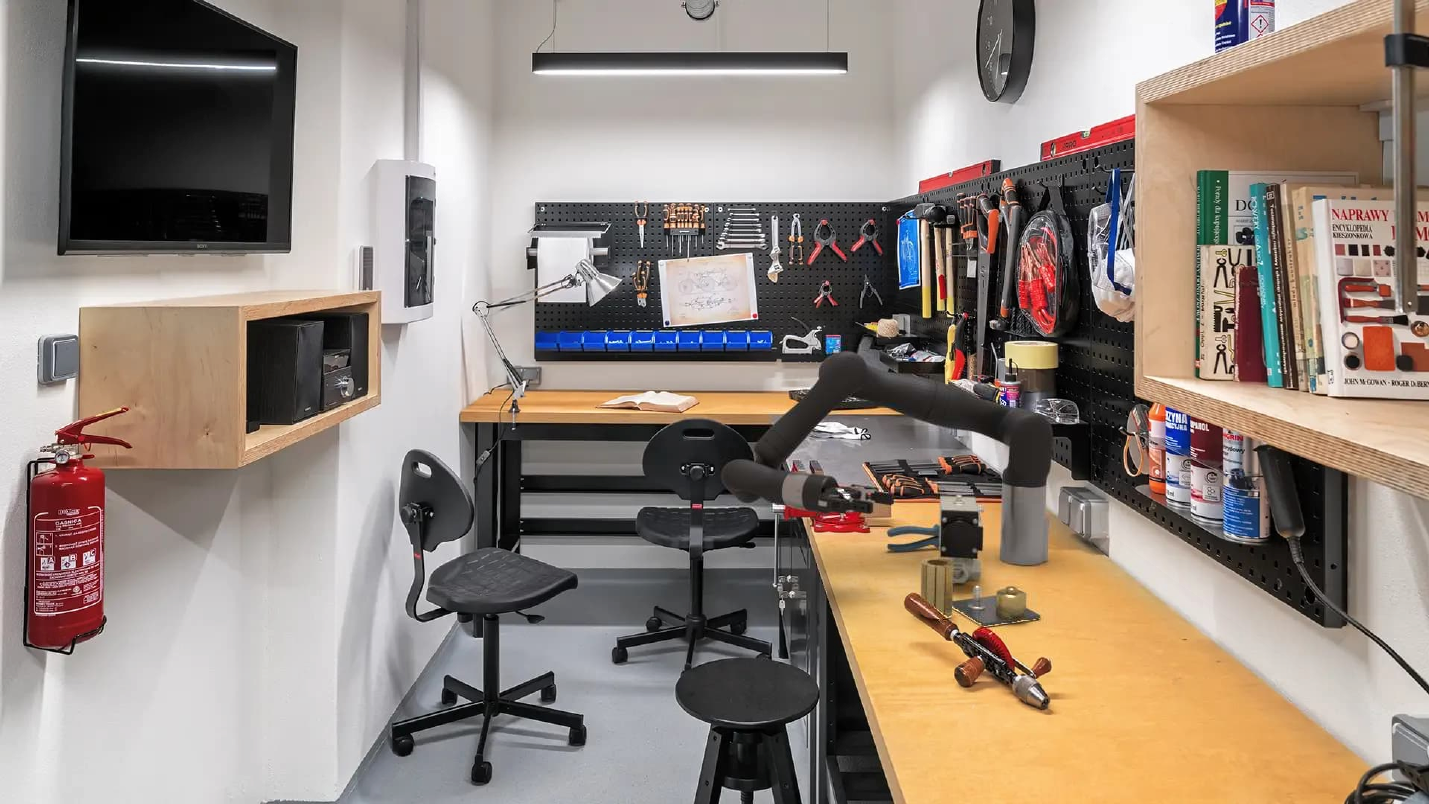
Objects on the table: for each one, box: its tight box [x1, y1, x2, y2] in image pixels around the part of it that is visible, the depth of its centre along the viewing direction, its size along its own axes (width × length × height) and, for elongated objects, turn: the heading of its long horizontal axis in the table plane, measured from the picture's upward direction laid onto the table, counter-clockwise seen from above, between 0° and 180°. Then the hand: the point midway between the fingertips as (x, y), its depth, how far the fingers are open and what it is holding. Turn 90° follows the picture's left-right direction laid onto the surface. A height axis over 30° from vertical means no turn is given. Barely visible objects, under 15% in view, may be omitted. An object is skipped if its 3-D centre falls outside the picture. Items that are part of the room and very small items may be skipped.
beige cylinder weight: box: [996, 585, 1027, 620], centre depth 172 cm, size 5×5×5 cm
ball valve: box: [938, 494, 985, 584], centre depth 194 cm, size 18×8×18 cm, turn 168°
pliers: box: [886, 523, 940, 553], centre depth 216 cm, size 20×2×6 cm, turn 100°
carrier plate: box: [952, 585, 1042, 627], centre depth 175 cm, size 12×12×5 cm
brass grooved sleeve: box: [920, 557, 954, 617], centre depth 174 cm, size 6×6×10 cm
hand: (883, 503), depth 179 cm, fingers open, 8 cm apart
